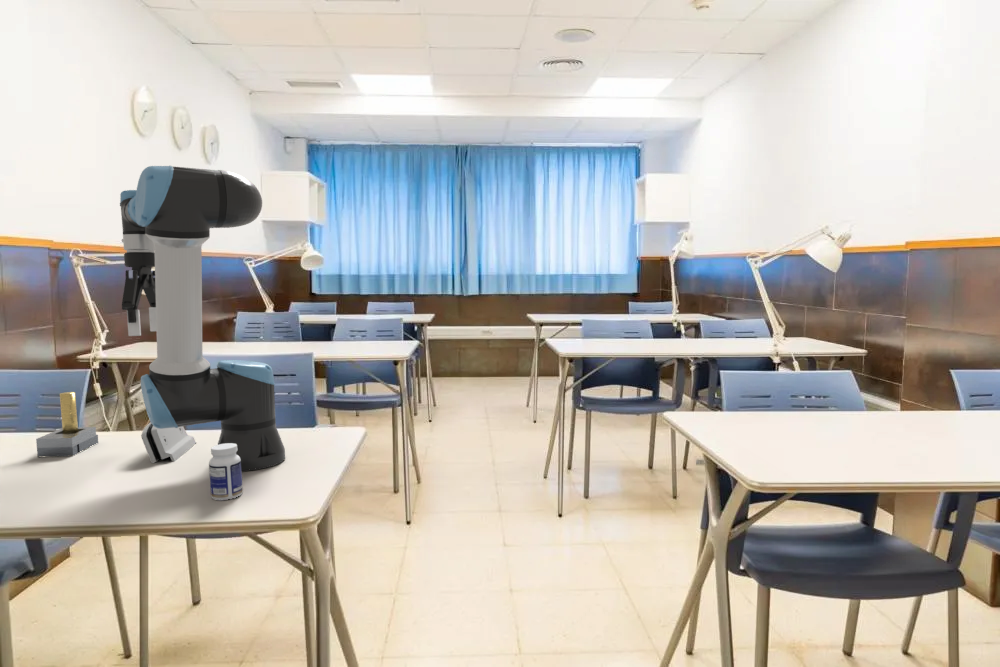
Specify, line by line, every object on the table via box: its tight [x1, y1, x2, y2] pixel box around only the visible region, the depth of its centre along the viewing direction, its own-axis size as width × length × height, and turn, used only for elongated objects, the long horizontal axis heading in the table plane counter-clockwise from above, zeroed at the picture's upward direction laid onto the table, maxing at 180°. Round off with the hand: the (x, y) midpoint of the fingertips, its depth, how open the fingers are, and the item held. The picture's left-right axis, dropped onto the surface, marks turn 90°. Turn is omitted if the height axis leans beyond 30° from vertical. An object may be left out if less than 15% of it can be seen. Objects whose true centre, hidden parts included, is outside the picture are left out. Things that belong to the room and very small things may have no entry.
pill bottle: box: [208, 443, 244, 501], centre depth 127 cm, size 6×6×10 cm
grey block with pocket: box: [35, 426, 99, 457], centre depth 162 cm, size 12×8×4 cm
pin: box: [59, 391, 79, 434], centre depth 162 cm, size 3×3×14 cm
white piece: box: [140, 421, 197, 464], centre depth 158 cm, size 17×5×10 cm, turn 8°
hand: (145, 333), depth 172 cm, fingers open, 13 cm apart
